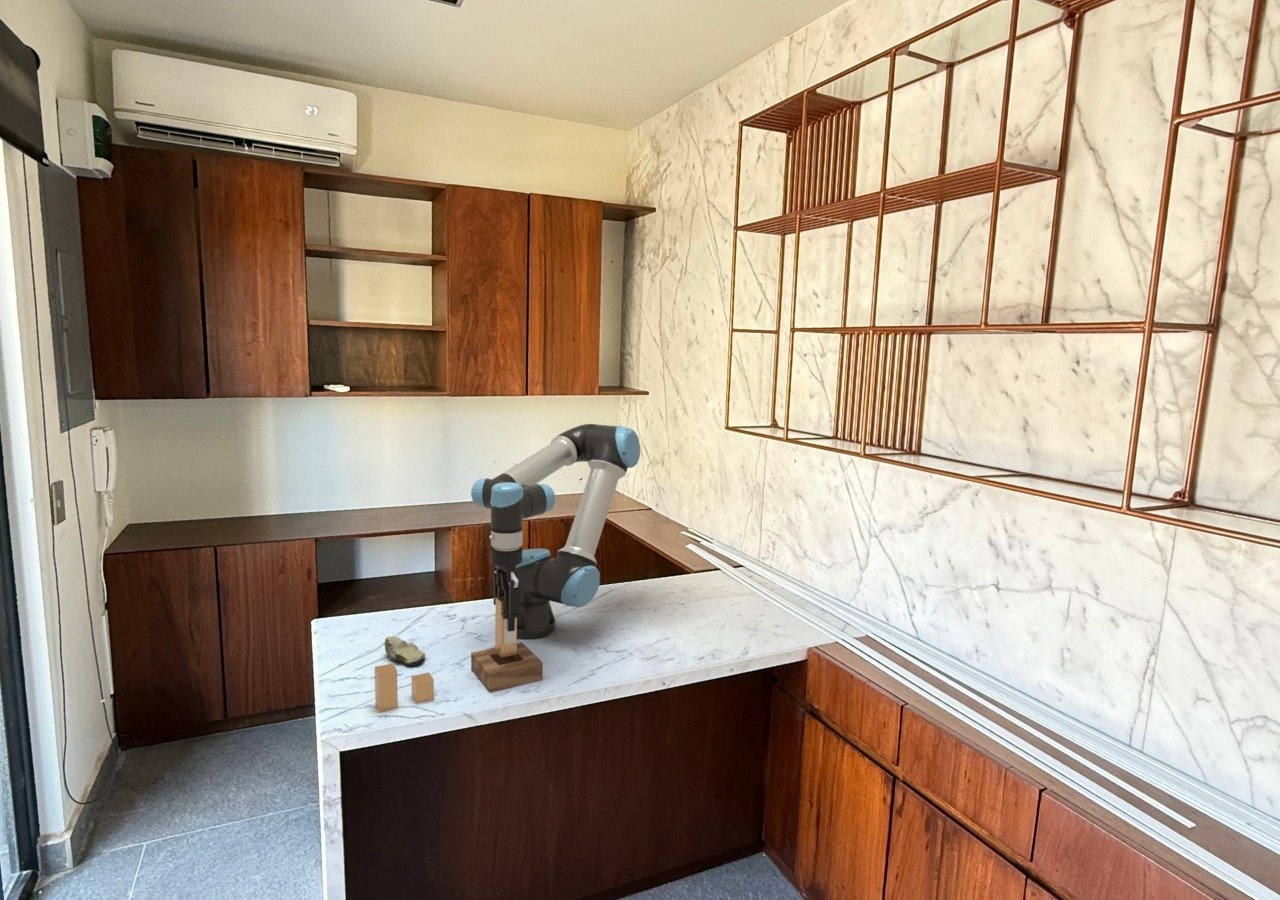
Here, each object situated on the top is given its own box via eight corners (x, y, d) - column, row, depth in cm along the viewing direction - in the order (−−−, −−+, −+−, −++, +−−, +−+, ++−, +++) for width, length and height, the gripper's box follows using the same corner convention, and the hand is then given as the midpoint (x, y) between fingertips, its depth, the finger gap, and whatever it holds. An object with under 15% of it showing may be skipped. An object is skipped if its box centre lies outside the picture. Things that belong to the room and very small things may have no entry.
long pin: (495, 651, 172) (495, 597, 170) (510, 648, 174) (511, 594, 172) (501, 657, 169) (501, 602, 167) (516, 654, 171) (516, 599, 169)
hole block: (471, 669, 175) (471, 652, 174) (521, 658, 182) (521, 642, 181) (489, 692, 163) (489, 674, 163) (542, 679, 170) (542, 662, 170)
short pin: (411, 696, 160) (411, 676, 160) (429, 692, 163) (428, 672, 162) (416, 704, 157) (415, 683, 156) (433, 699, 159) (433, 679, 158)
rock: (423, 671, 175) (428, 649, 185) (422, 649, 174) (427, 628, 183) (379, 674, 174) (386, 651, 183) (377, 652, 172) (384, 630, 181)
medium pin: (375, 704, 156) (374, 666, 155) (393, 700, 158) (393, 663, 157) (379, 712, 153) (378, 674, 152) (397, 708, 155) (397, 670, 154)
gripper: (480, 540, 173) (480, 629, 176) (504, 558, 159) (503, 655, 162) (508, 536, 177) (508, 624, 180) (534, 554, 163) (533, 648, 166)
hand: (506, 638), depth 171 cm, fingers closed on long pin, 4 cm apart
